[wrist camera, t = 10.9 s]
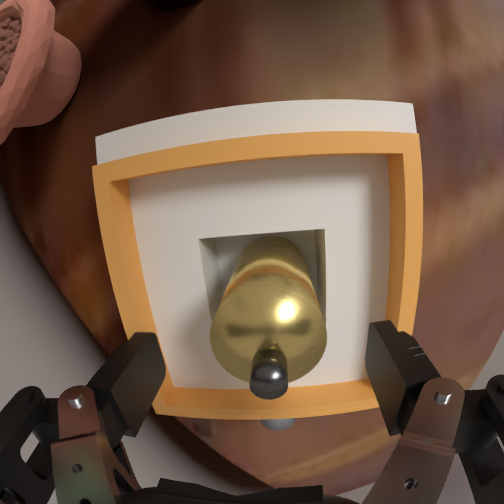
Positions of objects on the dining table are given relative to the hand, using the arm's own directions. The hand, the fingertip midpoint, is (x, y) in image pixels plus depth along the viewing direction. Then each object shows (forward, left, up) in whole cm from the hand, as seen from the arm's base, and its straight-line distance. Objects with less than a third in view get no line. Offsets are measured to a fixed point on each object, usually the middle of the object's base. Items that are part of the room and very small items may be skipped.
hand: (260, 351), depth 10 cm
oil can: (0, 0, -10) cm, 10 cm away
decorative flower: (-19, -19, -12) cm, 29 cm away
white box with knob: (+2, 0, -12) cm, 12 cm away
